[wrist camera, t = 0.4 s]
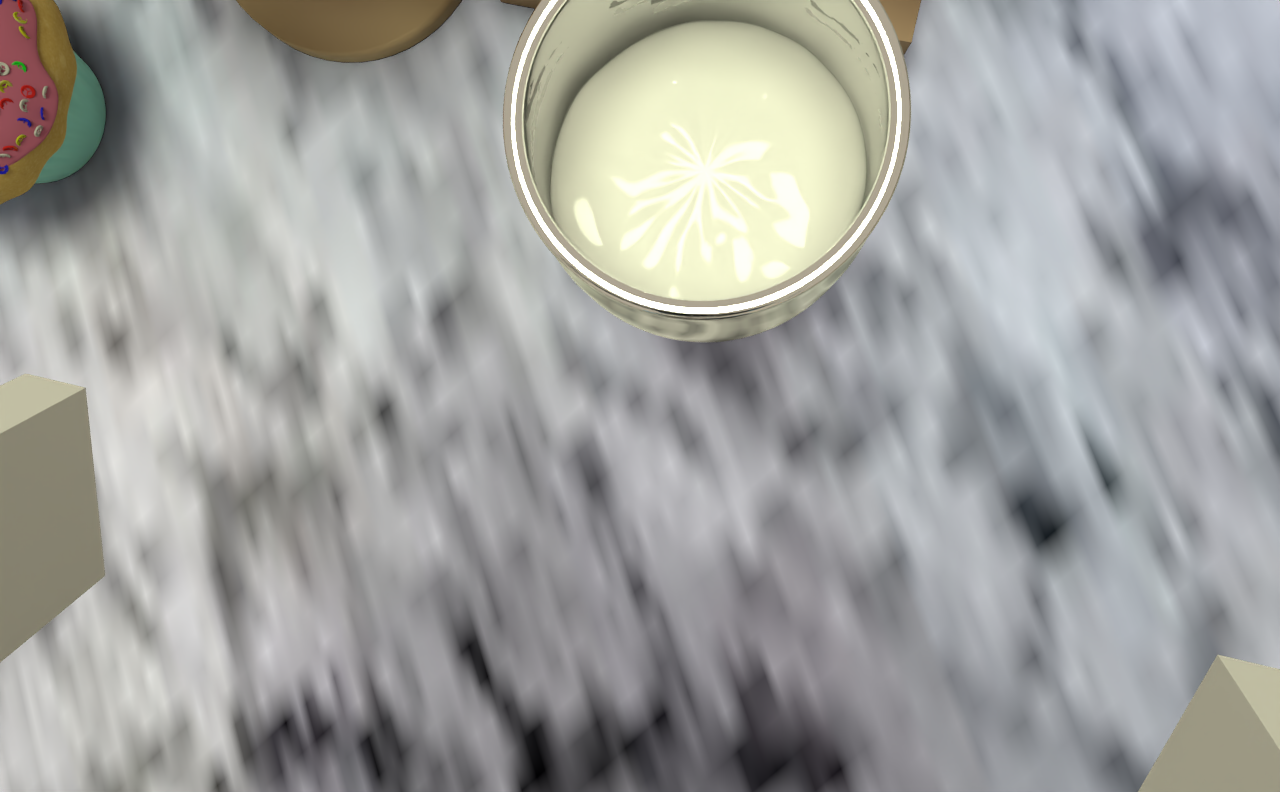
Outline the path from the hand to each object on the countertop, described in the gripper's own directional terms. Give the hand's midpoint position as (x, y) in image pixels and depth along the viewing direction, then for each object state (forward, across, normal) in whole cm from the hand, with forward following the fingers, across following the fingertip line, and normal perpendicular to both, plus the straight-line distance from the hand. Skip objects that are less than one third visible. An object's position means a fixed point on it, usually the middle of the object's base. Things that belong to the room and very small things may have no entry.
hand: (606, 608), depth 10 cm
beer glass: (+20, 0, +1) cm, 20 cm away
